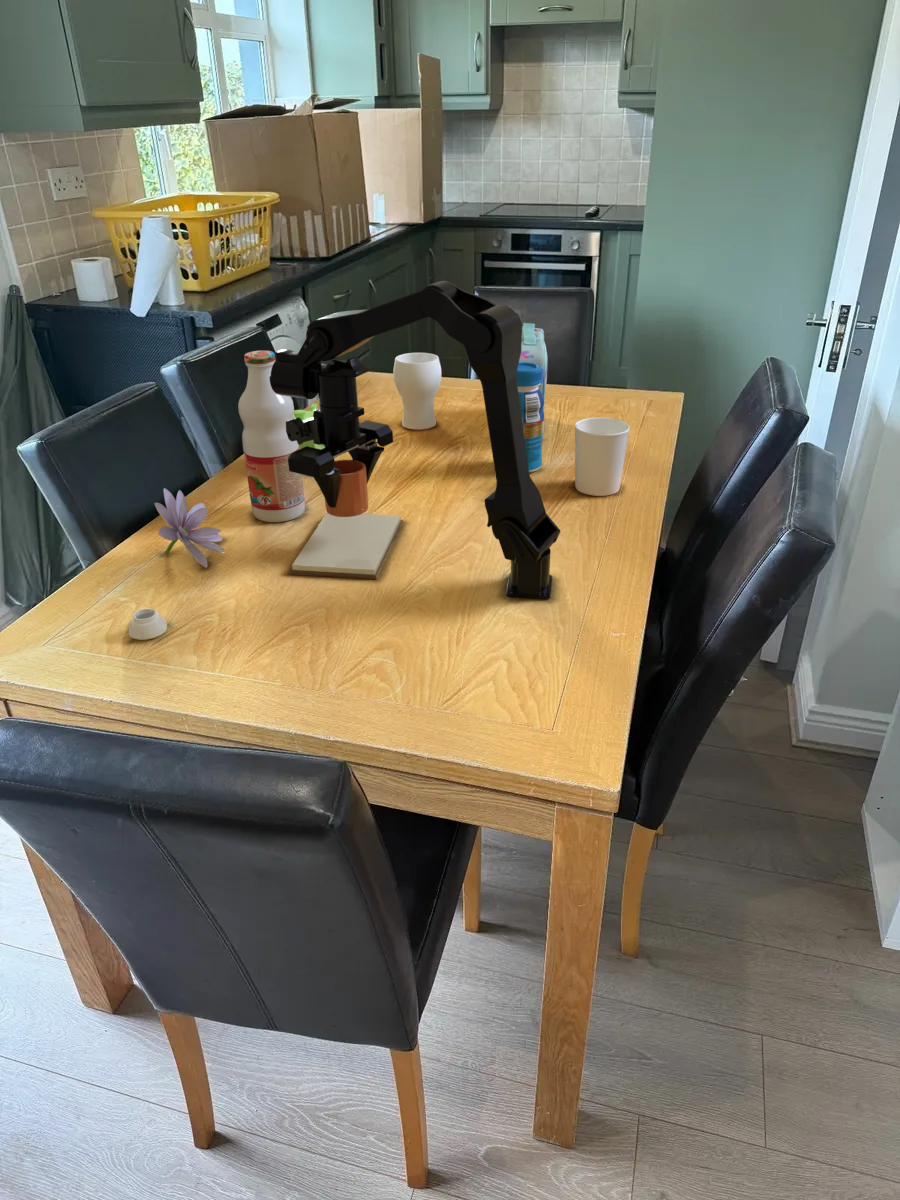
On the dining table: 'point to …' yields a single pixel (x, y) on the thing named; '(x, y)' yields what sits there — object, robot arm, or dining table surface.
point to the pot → (350, 489)
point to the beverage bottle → (531, 411)
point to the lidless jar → (146, 624)
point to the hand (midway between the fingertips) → (346, 499)
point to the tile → (348, 546)
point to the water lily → (187, 526)
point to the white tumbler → (600, 455)
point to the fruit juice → (268, 444)
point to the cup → (417, 388)
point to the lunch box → (535, 352)
